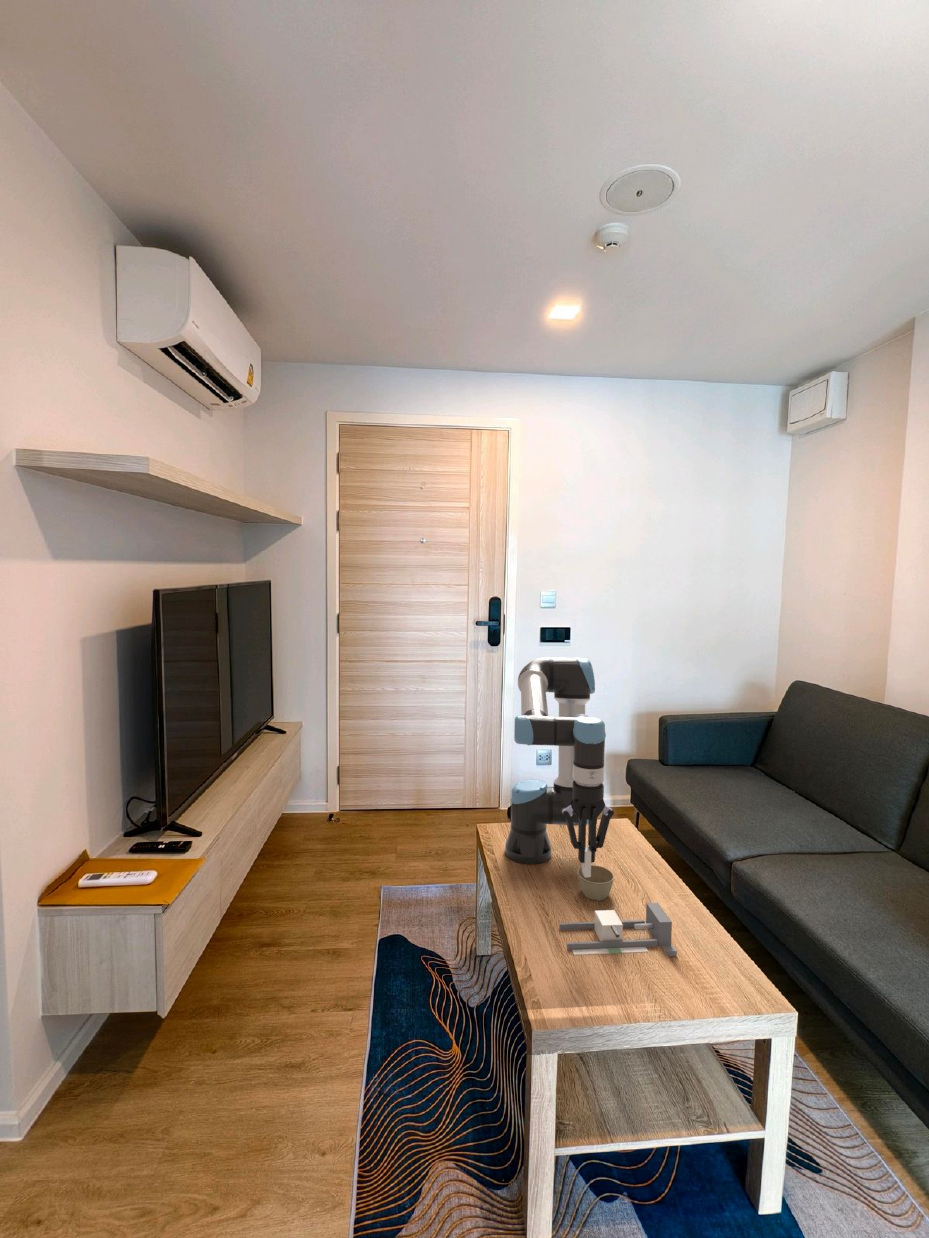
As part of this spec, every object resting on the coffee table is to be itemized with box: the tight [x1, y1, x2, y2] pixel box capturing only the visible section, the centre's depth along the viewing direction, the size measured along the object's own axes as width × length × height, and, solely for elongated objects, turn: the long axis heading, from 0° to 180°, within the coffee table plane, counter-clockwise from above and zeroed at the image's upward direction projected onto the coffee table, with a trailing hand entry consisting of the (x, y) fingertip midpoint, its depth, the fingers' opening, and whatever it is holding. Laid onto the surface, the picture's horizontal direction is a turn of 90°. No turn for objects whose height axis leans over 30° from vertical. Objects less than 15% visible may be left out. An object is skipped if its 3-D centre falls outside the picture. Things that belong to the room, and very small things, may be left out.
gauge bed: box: [558, 902, 678, 957], centre depth 135 cm, size 12×28×7 cm, turn 94°
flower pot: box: [577, 864, 615, 901], centre depth 154 cm, size 10×10×7 cm
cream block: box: [594, 909, 624, 941], centre depth 134 cm, size 10×5×5 cm, turn 4°
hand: (586, 874), depth 136 cm, fingers closed
